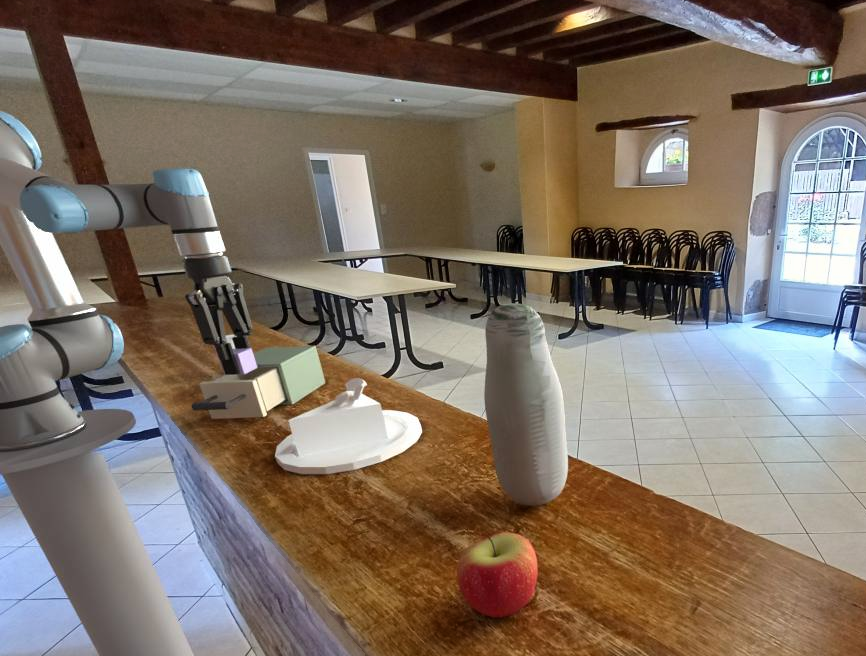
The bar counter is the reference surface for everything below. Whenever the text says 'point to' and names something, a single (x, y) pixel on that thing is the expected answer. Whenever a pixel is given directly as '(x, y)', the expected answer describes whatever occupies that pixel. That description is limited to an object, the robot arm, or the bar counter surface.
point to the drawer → (242, 394)
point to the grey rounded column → (524, 407)
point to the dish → (346, 434)
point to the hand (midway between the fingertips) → (240, 370)
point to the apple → (498, 574)
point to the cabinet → (293, 369)
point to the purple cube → (244, 360)
